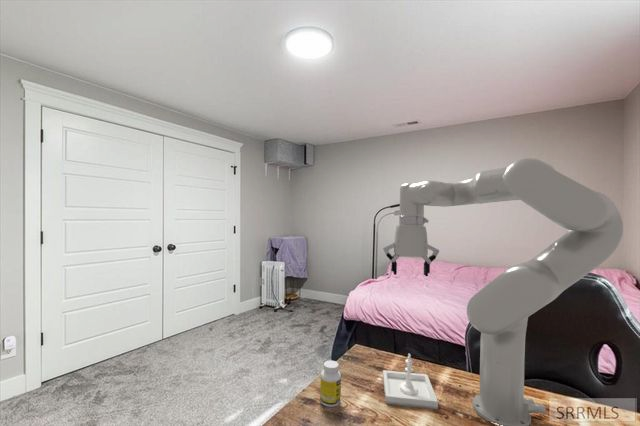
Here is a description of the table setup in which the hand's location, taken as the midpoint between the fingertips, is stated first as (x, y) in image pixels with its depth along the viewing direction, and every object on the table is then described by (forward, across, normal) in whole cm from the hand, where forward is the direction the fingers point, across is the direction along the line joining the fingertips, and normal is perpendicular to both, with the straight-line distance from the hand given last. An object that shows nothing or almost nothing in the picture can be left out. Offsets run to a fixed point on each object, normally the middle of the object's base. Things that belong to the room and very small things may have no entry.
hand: (410, 274), depth 96 cm
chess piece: (+30, +2, +13) cm, 33 cm away
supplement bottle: (+31, +23, +21) cm, 44 cm away
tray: (+30, +2, +13) cm, 33 cm away
